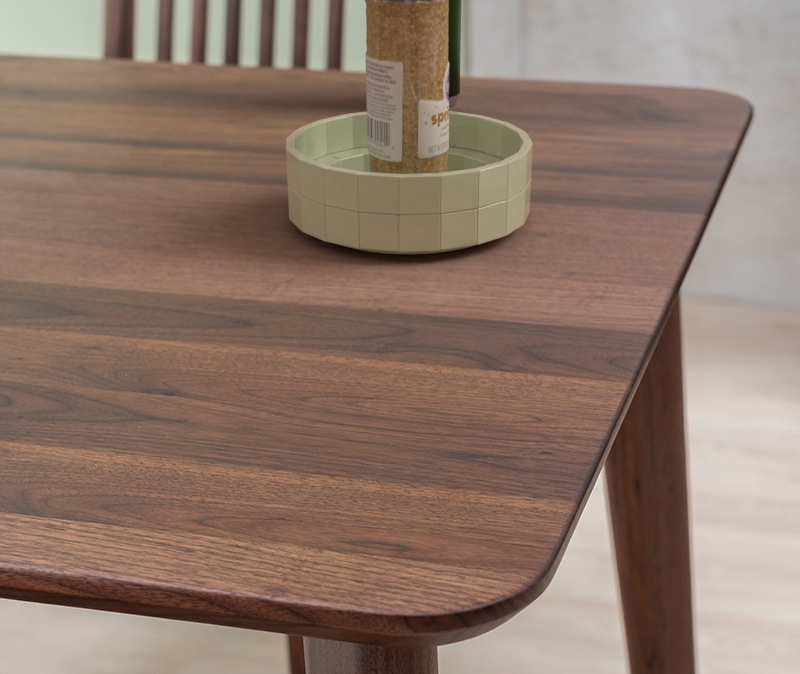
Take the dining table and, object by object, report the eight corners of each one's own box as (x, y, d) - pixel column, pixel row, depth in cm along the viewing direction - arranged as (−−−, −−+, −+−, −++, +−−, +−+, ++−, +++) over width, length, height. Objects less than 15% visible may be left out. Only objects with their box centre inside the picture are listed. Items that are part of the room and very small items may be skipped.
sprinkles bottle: (459, 220, 67) (464, -46, 61) (376, 227, 66) (372, -42, 60) (437, 194, 71) (439, -58, 65) (358, 200, 70) (353, -54, 64)
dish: (256, 252, 65) (251, 166, 63) (328, 178, 76) (326, 103, 74) (507, 272, 62) (510, 184, 60) (543, 192, 73) (546, 115, 71)
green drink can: (439, 89, 96) (440, -78, 90) (472, 105, 91) (476, -70, 86) (374, 97, 93) (372, -74, 88) (406, 114, 89) (406, -65, 84)
